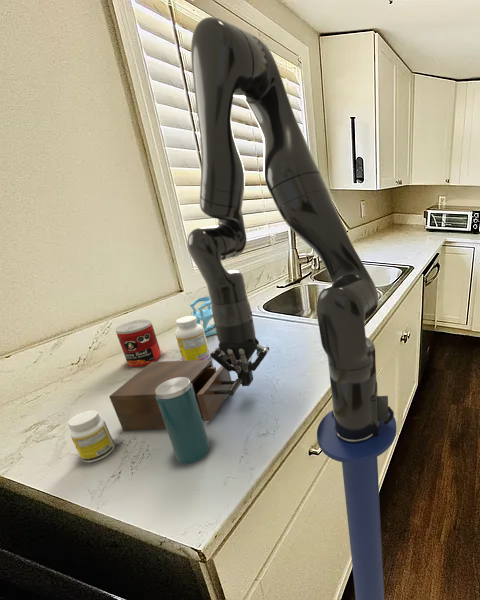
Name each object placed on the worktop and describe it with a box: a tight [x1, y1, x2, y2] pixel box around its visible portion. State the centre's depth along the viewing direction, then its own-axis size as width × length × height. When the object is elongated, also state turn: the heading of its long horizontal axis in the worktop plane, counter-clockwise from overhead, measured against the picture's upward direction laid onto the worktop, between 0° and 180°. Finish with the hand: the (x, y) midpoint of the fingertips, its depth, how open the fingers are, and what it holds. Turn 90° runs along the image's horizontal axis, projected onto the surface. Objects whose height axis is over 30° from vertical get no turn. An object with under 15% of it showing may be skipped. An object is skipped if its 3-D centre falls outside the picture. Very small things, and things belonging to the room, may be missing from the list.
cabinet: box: [108, 359, 214, 432], centre depth 71 cm, size 14×13×9 cm
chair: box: [189, 295, 217, 337], centre depth 107 cm, size 8×8×12 cm
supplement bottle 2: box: [174, 315, 211, 361], centre depth 90 cm, size 7×7×13 cm
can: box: [155, 377, 211, 465], centre depth 59 cm, size 5×5×15 cm
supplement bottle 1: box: [67, 409, 116, 463], centre depth 60 cm, size 5×5×8 cm
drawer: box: [192, 365, 242, 422], centre depth 72 cm, size 17×11×7 cm
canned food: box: [115, 319, 162, 368], centre depth 90 cm, size 8×8×11 cm
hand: (247, 384), depth 77 cm, fingers closed
